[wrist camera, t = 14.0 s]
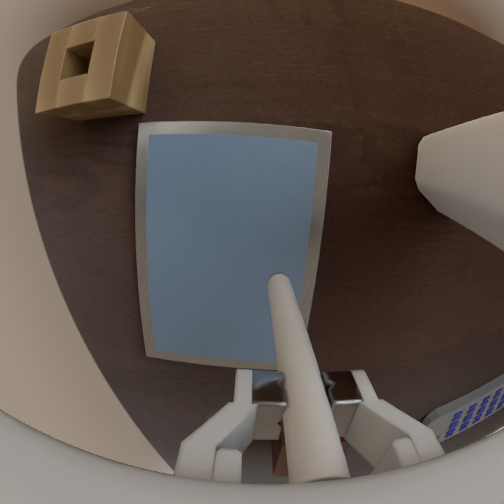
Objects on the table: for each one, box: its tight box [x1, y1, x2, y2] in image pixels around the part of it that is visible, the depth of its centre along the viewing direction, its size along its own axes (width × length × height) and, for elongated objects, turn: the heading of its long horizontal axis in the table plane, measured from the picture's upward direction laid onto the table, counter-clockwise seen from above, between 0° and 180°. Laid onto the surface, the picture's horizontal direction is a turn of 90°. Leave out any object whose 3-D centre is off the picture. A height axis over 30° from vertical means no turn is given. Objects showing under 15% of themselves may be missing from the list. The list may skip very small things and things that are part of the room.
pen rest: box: [35, 11, 156, 121], centre depth 15 cm, size 6×6×6 cm
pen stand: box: [272, 419, 350, 477], centre depth 24 cm, size 6×6×6 cm
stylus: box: [268, 273, 351, 484], centre depth 11 cm, size 1×1×14 cm
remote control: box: [422, 373, 504, 442], centre depth 27 cm, size 8×23×2 cm, turn 101°
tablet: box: [135, 121, 332, 370], centre depth 22 cm, size 14×20×1 cm
